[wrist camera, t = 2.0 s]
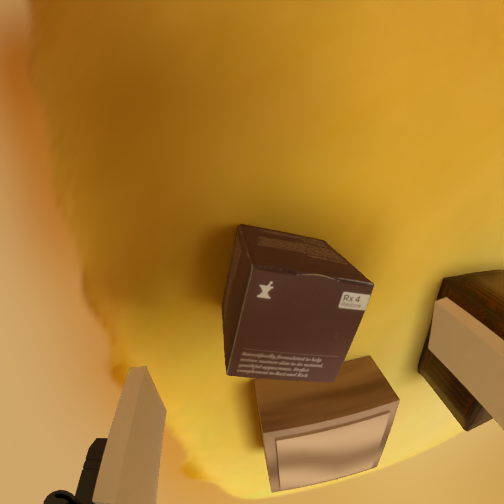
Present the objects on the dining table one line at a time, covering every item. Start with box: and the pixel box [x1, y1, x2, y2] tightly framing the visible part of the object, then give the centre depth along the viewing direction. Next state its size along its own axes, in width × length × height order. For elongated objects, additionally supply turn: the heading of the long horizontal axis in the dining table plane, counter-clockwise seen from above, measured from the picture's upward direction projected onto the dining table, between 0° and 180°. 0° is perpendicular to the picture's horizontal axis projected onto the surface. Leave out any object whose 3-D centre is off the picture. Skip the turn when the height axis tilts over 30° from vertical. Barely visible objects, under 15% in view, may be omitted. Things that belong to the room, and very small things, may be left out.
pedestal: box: [254, 356, 400, 492], centre depth 23 cm, size 10×10×6 cm
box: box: [222, 225, 374, 382], centre depth 17 cm, size 6×6×7 cm
